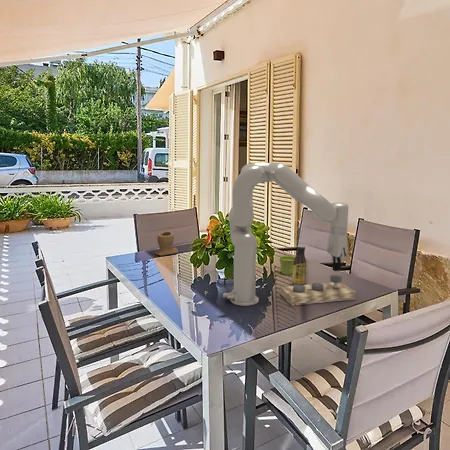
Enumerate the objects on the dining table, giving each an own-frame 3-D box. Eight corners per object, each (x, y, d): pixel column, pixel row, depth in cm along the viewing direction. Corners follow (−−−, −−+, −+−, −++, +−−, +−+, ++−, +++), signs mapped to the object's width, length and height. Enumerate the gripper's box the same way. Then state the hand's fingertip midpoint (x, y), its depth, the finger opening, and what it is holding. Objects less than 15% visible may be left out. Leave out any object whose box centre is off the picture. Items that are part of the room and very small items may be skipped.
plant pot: (295, 271, 224) (295, 256, 222) (296, 276, 214) (297, 260, 213) (278, 270, 225) (278, 255, 223) (278, 275, 215) (279, 260, 214)
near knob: (295, 301, 178) (295, 288, 177) (290, 297, 183) (291, 284, 182) (306, 300, 179) (306, 287, 178) (301, 296, 184) (302, 284, 183)
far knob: (333, 291, 181) (333, 278, 180) (327, 287, 186) (328, 275, 185) (343, 290, 182) (344, 277, 181) (337, 286, 187) (338, 274, 186)
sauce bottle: (295, 288, 196) (296, 248, 192) (290, 284, 202) (291, 245, 198) (307, 286, 198) (309, 247, 194) (302, 282, 204) (303, 244, 200)
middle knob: (314, 299, 180) (314, 287, 179) (309, 295, 185) (309, 283, 184) (325, 298, 181) (325, 286, 180) (319, 295, 186) (320, 282, 185)
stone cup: (160, 258, 252) (159, 234, 249) (153, 254, 262) (152, 231, 259) (182, 254, 259) (182, 232, 257) (174, 251, 269) (174, 229, 267)
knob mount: (292, 306, 173) (292, 297, 172) (280, 295, 186) (280, 286, 185) (355, 300, 180) (355, 291, 179) (339, 290, 193) (339, 282, 192)
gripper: (322, 228, 186) (321, 266, 189) (339, 234, 171) (337, 275, 175) (337, 227, 187) (336, 265, 191) (355, 233, 173) (353, 274, 176)
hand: (336, 270), depth 183 cm, fingers closed
